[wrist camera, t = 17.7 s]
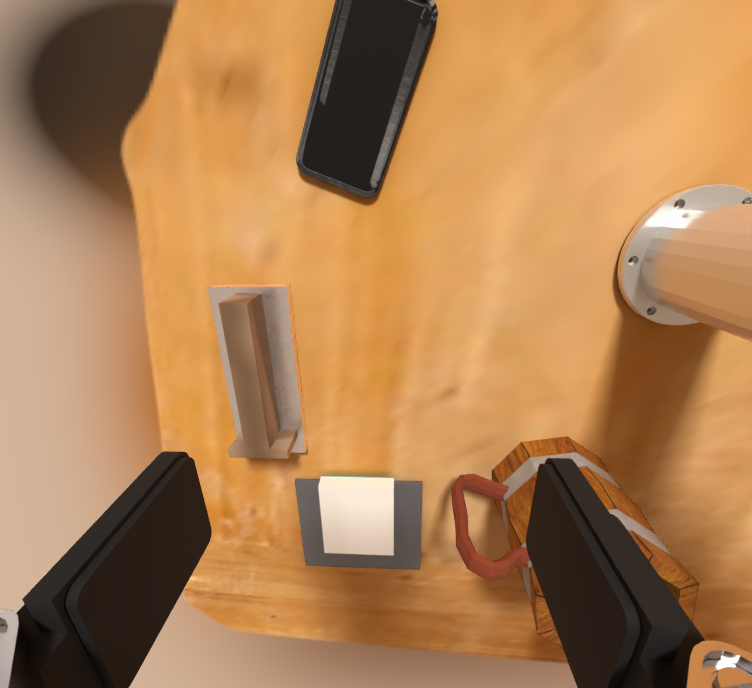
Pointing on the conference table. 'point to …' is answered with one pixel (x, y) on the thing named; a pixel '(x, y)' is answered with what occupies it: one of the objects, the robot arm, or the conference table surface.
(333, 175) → the phone
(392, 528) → the tile
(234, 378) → the brown t-shaped post
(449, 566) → the conference table surface
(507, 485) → the mug
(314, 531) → the mat
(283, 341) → the tool rest
